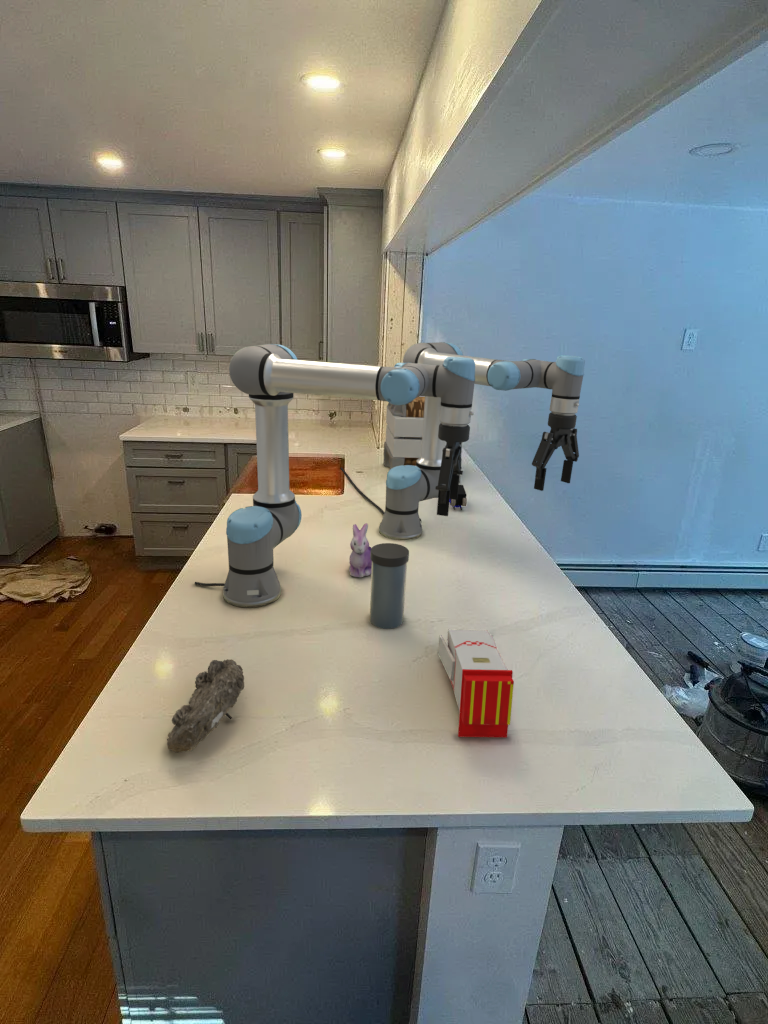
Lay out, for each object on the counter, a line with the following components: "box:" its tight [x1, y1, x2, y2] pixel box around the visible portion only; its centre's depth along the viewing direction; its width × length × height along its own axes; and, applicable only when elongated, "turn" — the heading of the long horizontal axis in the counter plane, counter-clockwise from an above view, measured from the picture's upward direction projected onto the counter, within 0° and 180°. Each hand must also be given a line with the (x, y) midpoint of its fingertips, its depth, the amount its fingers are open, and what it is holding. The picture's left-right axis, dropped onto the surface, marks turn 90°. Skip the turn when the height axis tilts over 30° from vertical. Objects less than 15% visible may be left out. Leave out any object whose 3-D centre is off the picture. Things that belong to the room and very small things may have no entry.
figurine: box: [348, 522, 372, 578], centre depth 167 cm, size 9×10×15 cm
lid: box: [370, 542, 410, 567], centre depth 138 cm, size 9×9×2 cm
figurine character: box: [449, 484, 468, 511], centre depth 230 cm, size 7×8×15 cm
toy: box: [437, 628, 515, 738], centre depth 117 cm, size 12×13×30 cm
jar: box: [369, 562, 408, 630], centre depth 141 cm, size 9×9×19 cm
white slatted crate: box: [383, 396, 464, 483], centre depth 268 cm, size 34×33×41 cm
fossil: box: [166, 658, 245, 754], centre depth 106 cm, size 22×10×15 cm
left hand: (447, 506), depth 144 cm, fingers open, 13 cm apart
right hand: (552, 485), depth 166 cm, fingers open, 13 cm apart
